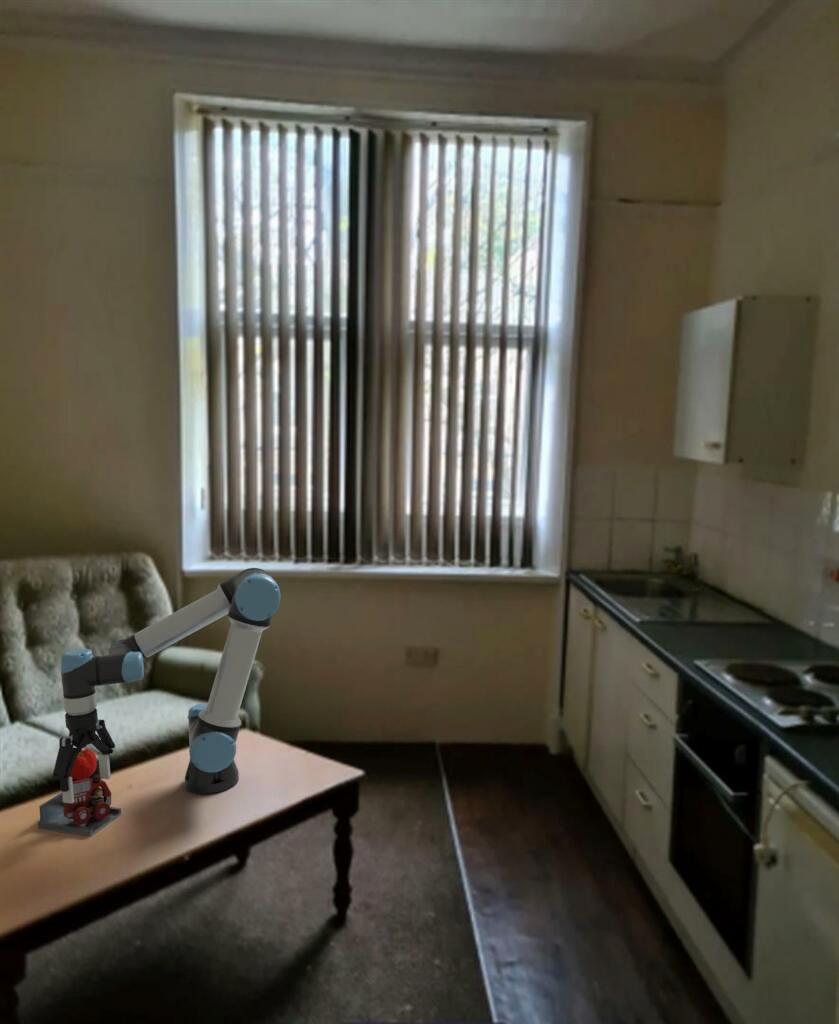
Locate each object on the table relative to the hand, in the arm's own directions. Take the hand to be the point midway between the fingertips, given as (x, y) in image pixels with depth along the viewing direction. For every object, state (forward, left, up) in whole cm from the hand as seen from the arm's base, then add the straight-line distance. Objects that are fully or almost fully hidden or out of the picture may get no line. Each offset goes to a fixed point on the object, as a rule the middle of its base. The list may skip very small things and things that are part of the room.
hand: (87, 790), depth 194 cm
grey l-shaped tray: (+2, 0, -9) cm, 9 cm away
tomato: (+21, -23, -9) cm, 32 cm away
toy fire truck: (0, 0, -8) cm, 8 cm away
